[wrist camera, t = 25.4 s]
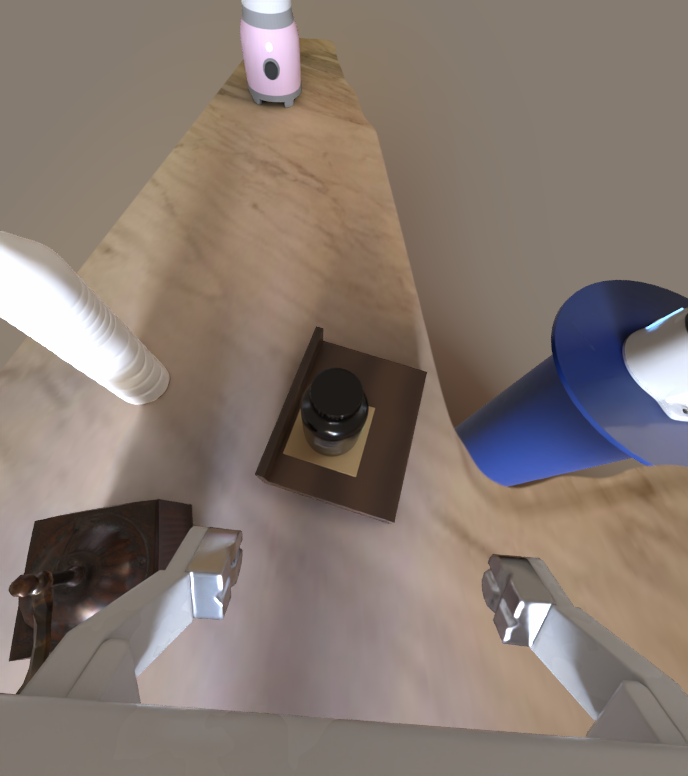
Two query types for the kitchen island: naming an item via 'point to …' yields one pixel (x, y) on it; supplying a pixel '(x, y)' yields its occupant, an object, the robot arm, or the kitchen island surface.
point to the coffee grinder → (89, 568)
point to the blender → (271, 50)
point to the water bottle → (74, 321)
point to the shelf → (370, 453)
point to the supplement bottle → (334, 412)
